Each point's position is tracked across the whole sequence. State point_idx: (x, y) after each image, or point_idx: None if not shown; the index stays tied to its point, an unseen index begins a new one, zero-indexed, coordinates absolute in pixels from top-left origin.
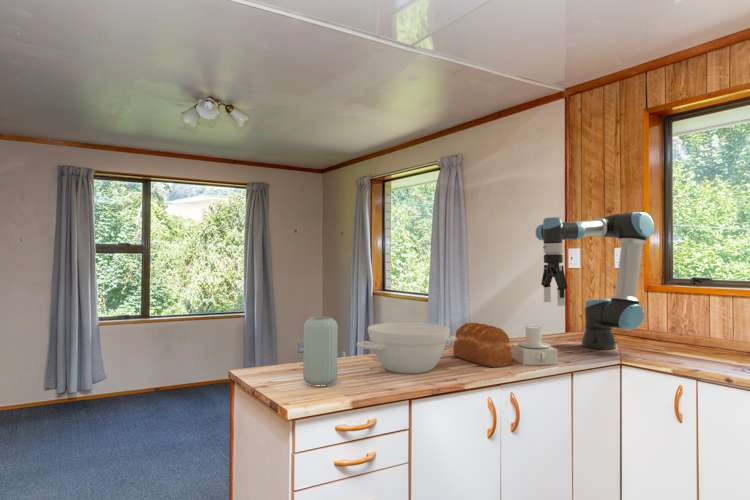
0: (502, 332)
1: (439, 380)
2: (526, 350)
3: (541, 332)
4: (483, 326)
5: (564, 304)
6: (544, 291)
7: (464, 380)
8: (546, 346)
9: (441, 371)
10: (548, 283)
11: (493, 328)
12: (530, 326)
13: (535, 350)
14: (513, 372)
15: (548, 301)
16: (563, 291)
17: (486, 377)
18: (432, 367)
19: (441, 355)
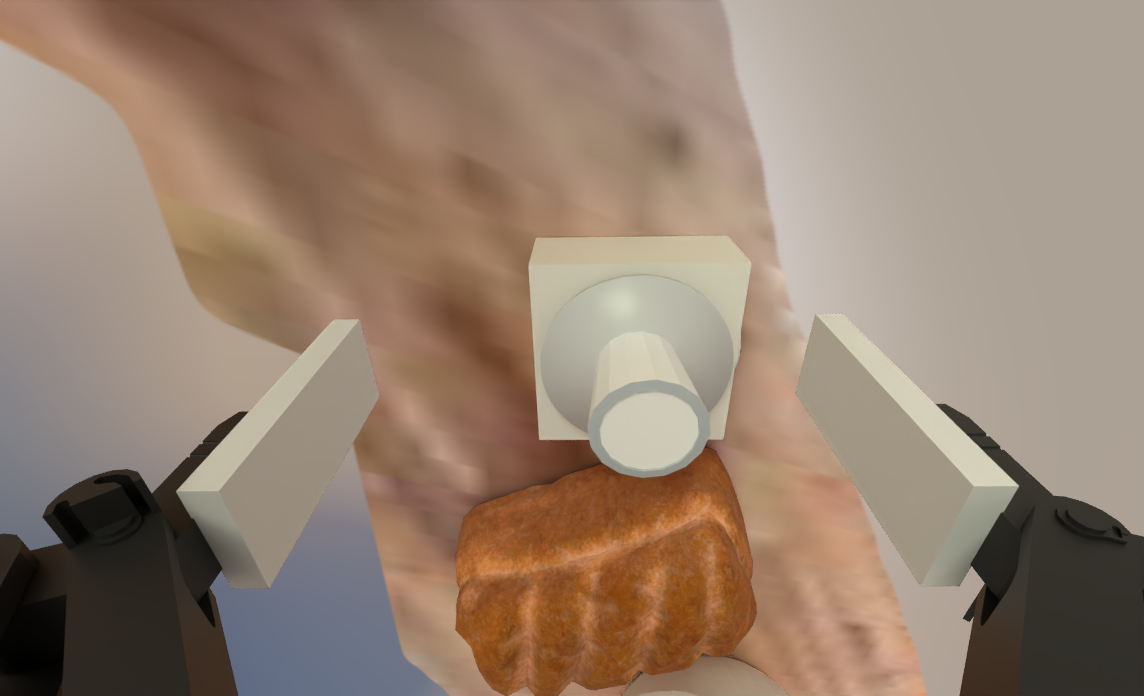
0: (735, 598)
1: (856, 657)
2: (724, 425)
3: (689, 380)
4: (636, 663)
5: (848, 327)
6: (301, 516)
7: (880, 612)
8: (722, 326)
9: (752, 639)
10: (194, 622)
11: (700, 639)
12: (599, 437)
13: (731, 383)
14: (826, 469)
15: (364, 357)
16: (1034, 501)
17: (867, 559)
18: (761, 672)
19: (761, 692)
